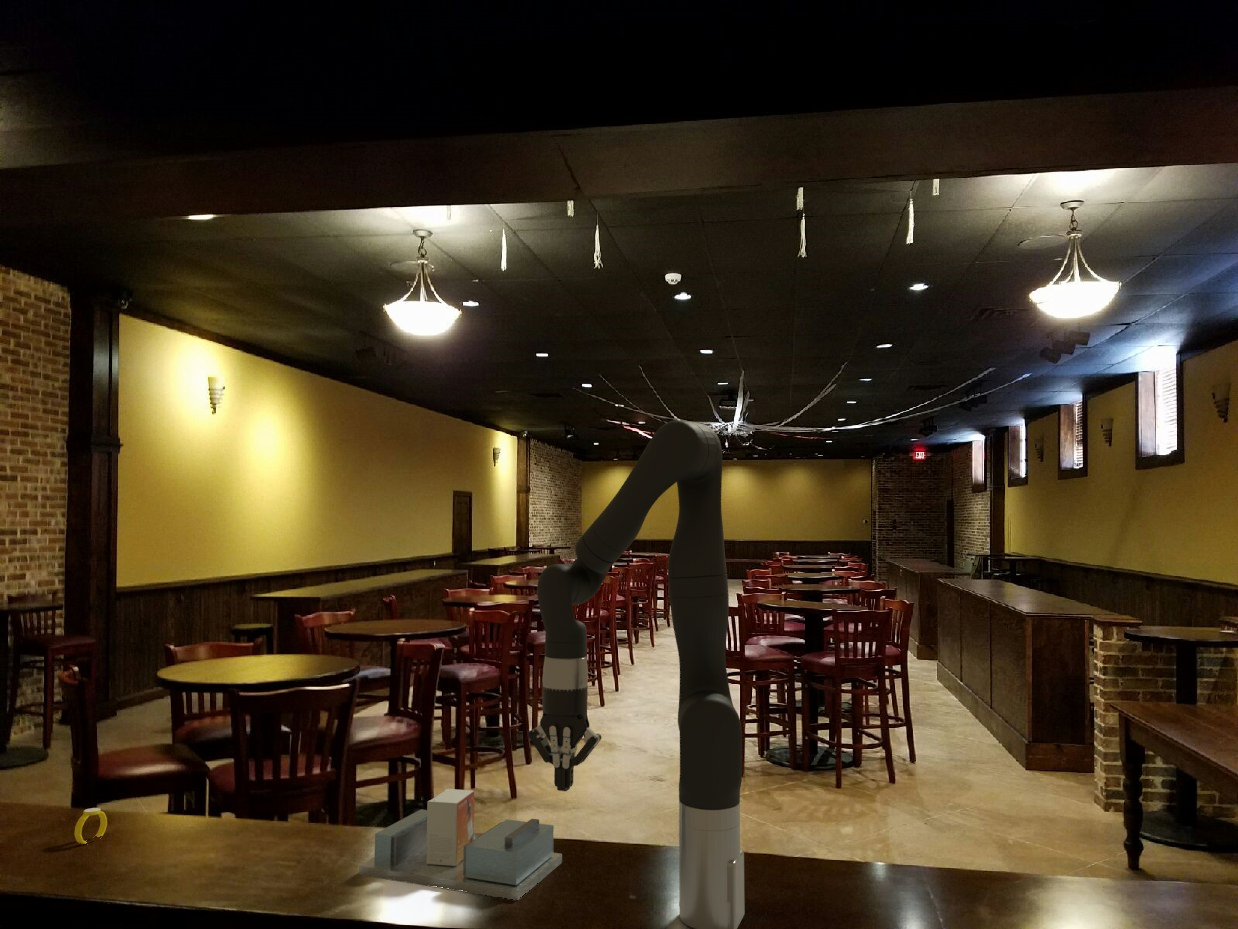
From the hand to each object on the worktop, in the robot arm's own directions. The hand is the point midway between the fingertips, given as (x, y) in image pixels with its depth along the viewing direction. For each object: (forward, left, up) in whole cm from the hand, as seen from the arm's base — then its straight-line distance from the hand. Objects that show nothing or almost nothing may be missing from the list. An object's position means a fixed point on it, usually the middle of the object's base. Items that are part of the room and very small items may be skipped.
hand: (563, 789), depth 145 cm
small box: (+21, 0, -14) cm, 26 cm away
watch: (+91, +13, -16) cm, 93 cm away
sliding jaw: (+10, 0, -14) cm, 17 cm away
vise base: (+18, 0, -15) cm, 24 cm away
